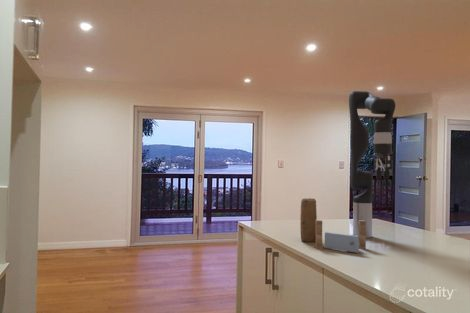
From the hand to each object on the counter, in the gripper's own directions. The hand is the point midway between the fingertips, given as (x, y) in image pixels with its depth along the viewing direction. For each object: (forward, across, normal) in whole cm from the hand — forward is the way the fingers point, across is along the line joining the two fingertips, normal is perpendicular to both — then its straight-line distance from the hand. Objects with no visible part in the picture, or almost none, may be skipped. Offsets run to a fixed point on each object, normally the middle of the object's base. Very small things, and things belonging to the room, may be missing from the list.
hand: (382, 179), depth 172 cm
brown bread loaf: (+30, +15, +30) cm, 45 cm away
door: (+30, -8, +21) cm, 37 cm away
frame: (+30, -2, +19) cm, 36 cm away
